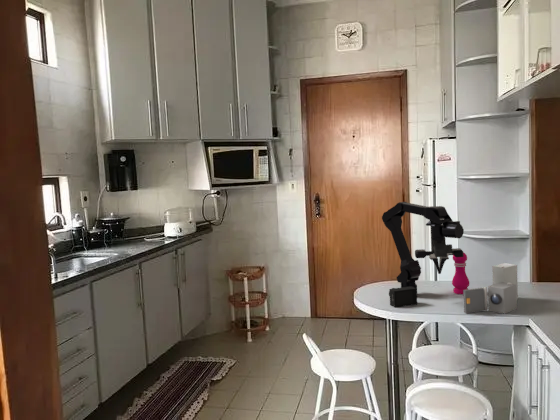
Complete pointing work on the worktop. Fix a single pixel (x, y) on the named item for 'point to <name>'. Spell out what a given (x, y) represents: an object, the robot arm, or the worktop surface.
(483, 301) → the side door
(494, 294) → the camera housing
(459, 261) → the pepper mill
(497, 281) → the skincare box
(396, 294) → the digital camera
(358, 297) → the worktop surface
